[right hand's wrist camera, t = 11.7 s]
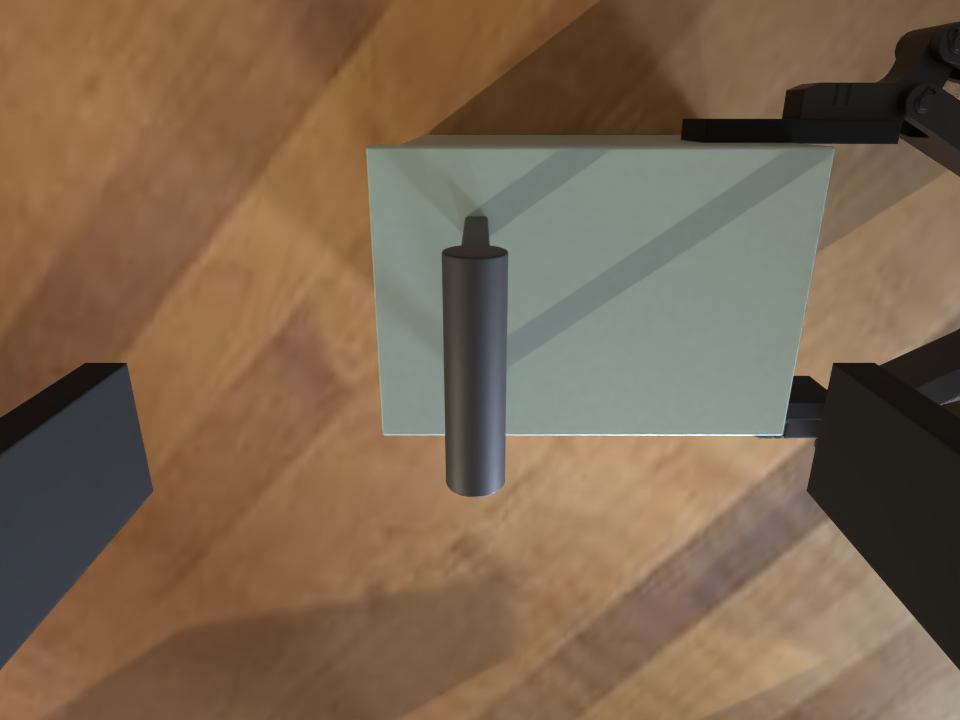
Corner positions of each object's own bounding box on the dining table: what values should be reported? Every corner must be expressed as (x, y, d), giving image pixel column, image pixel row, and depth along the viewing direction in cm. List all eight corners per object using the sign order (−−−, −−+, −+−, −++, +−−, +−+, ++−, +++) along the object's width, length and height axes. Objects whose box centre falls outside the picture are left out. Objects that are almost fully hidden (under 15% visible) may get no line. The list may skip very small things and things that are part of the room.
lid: (386, 420, 24) (344, 563, 16) (372, 144, 20) (308, 163, 13) (768, 420, 24) (902, 563, 16) (816, 145, 20) (1012, 164, 13)
